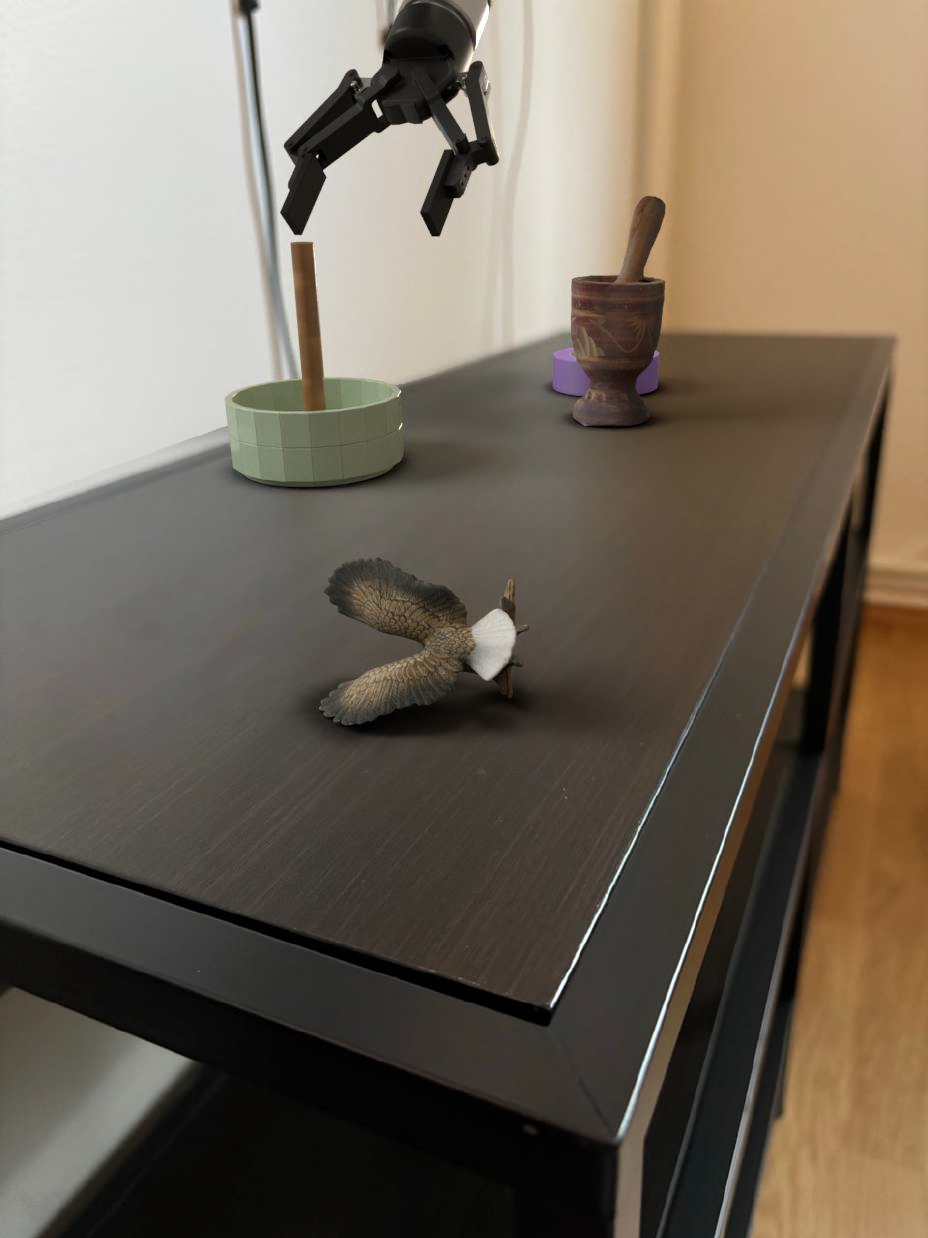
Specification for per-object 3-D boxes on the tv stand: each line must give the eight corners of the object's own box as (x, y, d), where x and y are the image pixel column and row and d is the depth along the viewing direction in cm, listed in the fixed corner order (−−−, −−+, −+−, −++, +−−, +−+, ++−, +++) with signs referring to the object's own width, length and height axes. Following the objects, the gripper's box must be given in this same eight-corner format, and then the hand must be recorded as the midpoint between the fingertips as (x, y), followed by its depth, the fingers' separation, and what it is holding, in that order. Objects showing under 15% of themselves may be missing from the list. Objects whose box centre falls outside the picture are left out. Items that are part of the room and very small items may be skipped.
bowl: (211, 489, 77) (201, 413, 75) (257, 443, 90) (250, 377, 88) (391, 489, 76) (387, 412, 74) (412, 443, 89) (409, 376, 87)
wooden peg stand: (278, 467, 81) (257, 245, 74) (294, 449, 86) (274, 240, 79) (346, 466, 80) (331, 244, 73) (357, 449, 85) (344, 239, 78)
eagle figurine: (495, 624, 51) (319, 606, 49) (533, 539, 45) (335, 516, 43) (502, 760, 46) (310, 746, 45) (546, 687, 41) (326, 668, 39)
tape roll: (533, 391, 109) (533, 356, 108) (582, 374, 118) (583, 341, 116) (630, 402, 103) (632, 365, 102) (674, 383, 112) (676, 348, 110)
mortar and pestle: (578, 401, 104) (584, 195, 96) (661, 404, 102) (675, 194, 94) (561, 427, 94) (566, 199, 86) (653, 431, 92) (668, 197, 84)
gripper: (575, 63, 87) (507, 257, 81) (336, 79, 97) (259, 253, 91) (554, -17, 80) (478, 188, 74) (300, 9, 90) (215, 191, 84)
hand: (357, 224), depth 83 cm, fingers open, 13 cm apart
